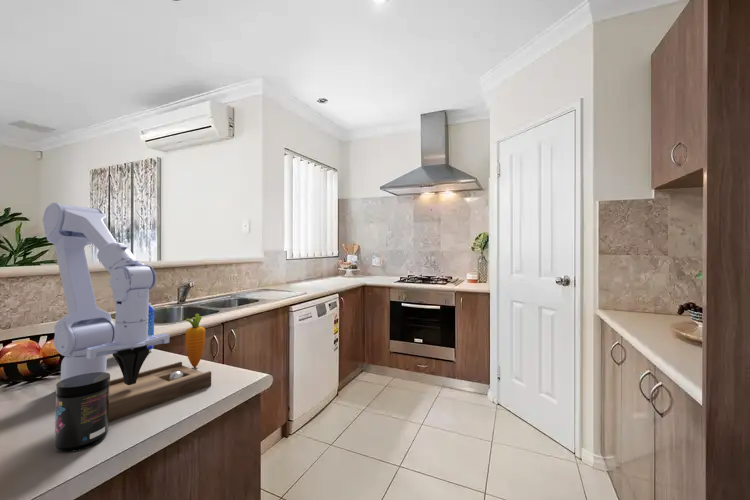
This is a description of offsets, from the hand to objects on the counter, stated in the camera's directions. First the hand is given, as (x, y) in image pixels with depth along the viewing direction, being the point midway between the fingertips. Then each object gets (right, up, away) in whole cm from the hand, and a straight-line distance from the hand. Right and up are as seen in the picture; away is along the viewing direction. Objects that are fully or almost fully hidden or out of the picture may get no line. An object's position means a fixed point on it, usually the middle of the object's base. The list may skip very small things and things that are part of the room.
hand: (130, 383), depth 68 cm
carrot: (+2, -5, +21) cm, 21 cm away
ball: (+5, -2, +9) cm, 10 cm away
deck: (+2, -4, +3) cm, 5 cm away
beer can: (-24, -5, +34) cm, 41 cm away
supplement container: (+4, -4, -15) cm, 16 cm away
